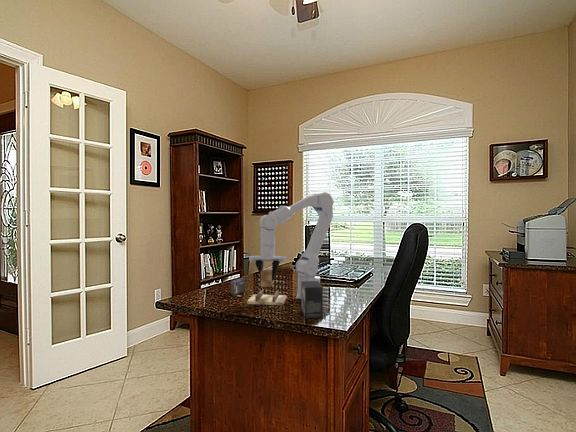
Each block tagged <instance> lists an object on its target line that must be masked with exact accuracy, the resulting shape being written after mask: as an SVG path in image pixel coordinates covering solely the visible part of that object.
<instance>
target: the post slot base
mask: <svg viewBox="0 0 576 432" xmlns="http://www.w3.org/2000/svg"><path fill="white" fill-rule="evenodd" d="M287 298H288V295H285V294H280V291H279V290H276V291H275V292H274V294H264V290H260V291H259V292H258V293H257V294H255V293H254V294H252V295H251V296H250V298H248V300H247V301H246V305H262V306H264V305H269V306H284V304H285V302H286V300H287Z"/></svg>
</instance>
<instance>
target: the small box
mask: <svg viewBox="0 0 576 432" xmlns="http://www.w3.org/2000/svg"><path fill="white" fill-rule="evenodd" d="M323 295H324V286H323V285H322V284H321V282H320V283H319V282H318V281H301V299H300V301H301V302H300V303H301V304H300V305H301V311H302V314H303V316H304V318H305V319H323V318H324V309H323V308H324V305H323V304H324V296H323Z"/></svg>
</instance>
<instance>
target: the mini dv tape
mask: <svg viewBox="0 0 576 432" xmlns="http://www.w3.org/2000/svg"><path fill="white" fill-rule="evenodd" d="M245 292H246V279H245V278H244V277H241V278H236V279H233V280H231V281H230V295H231V296H235V295H239V294H241V293H245Z"/></svg>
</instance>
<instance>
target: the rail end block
mask: <svg viewBox="0 0 576 432" xmlns="http://www.w3.org/2000/svg"><path fill="white" fill-rule="evenodd" d="M273 284H275V280H272V267H263V270H261V279H260V287H261V288H271V287H273Z"/></svg>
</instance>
